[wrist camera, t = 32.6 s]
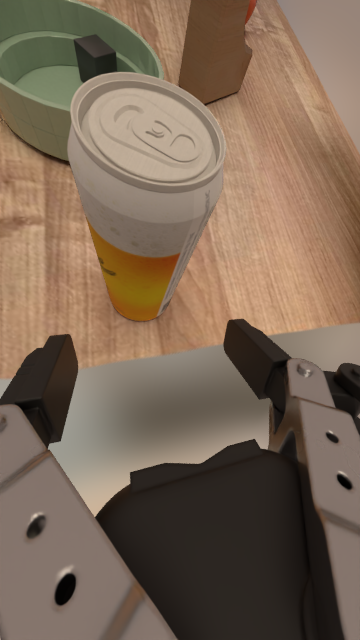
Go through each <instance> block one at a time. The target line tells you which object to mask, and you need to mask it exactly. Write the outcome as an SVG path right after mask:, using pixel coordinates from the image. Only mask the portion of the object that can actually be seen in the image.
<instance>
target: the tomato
mask: <svg viewBox="0 0 360 640" xmlns="http://www.w3.org/2000/svg"><path fill="white" fill-rule="evenodd" d="M256 3H257V0H250V3H249V7H248V11H247V15H246V19H245V25H246V23H247V22H248V20H249V19H250V17H251V15H252V13H253V11H254V9H255V6H256Z"/></svg>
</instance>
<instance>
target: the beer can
mask: <svg viewBox="0 0 360 640" xmlns="http://www.w3.org/2000/svg"><path fill="white" fill-rule="evenodd" d="M70 114H71V121H72V123H71V128H70V133H69V138H68V146H67V151H68V158H69V162H70V165H71V169H72V172H73V175H74V179H75V182H76V185H77V189H78V192H79V195H80V199H81V202H82V206H83V209H84V212H85V216H86V219H87V222H88V226H89V229H90V232H91V236H92V239H93V242H94V246H95V249H96V252H97V256H98V259H99V263H100V266H101V269H102V273H103V276H104V279H105V283H106V286H107V289H108V293H109V296H110V299H111V302H112V304H113V306H114V308H115V309H116V310H117V311H118V312H119V313H120V314H121V315H123V316H124V317H126V318H129V319H131V320H136V321H147V320H151V319H154V318H156V317H157V316H159V315H160V314H162V313H163V312H164V311H165V309H166V308H167V306H168V304H169V302H170V300H171V298H172V296H173V293H174V291H175V289H176V287H177V285H178V283H179V281H180V279H181V277H182V274H183V272H184V270H185V268H186V266H187V264H188V262H189V260H190V258H191V256H192V253H193V251H194V249H195V247H196V245H197V243H198V241H199V239H200V237H201V234H202V232H203V230H204V228H205V226H206V224H207V222H208V220H209V218H210V215H211V213H212V211H213V209H214V207H215V205H216V203H217V201H218V199H219V196H220V194H221V192H222V187H223V162H224V159H225V155H226V141H225V136H224V133H223V131H222V128H221V126H220V124H219V123H218V121H217V120H216V118H215V117H214V115H213V114H212V113H211V112H210V111H209V109H208V108H207V107H206V106H205V105H204V104H202V103H201V102H200V101H199V100H198V99H197V98H195V97H194V96H193V95H191V94H190V93H188V92H187V91H185V90H183V89H182V88H180V87H178V86H176V85H174V84H172V83H170V82H167V81H165V80H162V79H159V78H156V77H153V76H149V75H145V74H140V73H132V72H114V73H107V74H102V75H99V76H96V77H94V78H92V79H89V80H88V81H86V82H85V83H83V84H82V85H81V86H80V87H79V88H78V90H77V91H76V92H75V94H74V96H73V98H72V102H71V109H70Z"/></svg>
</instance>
